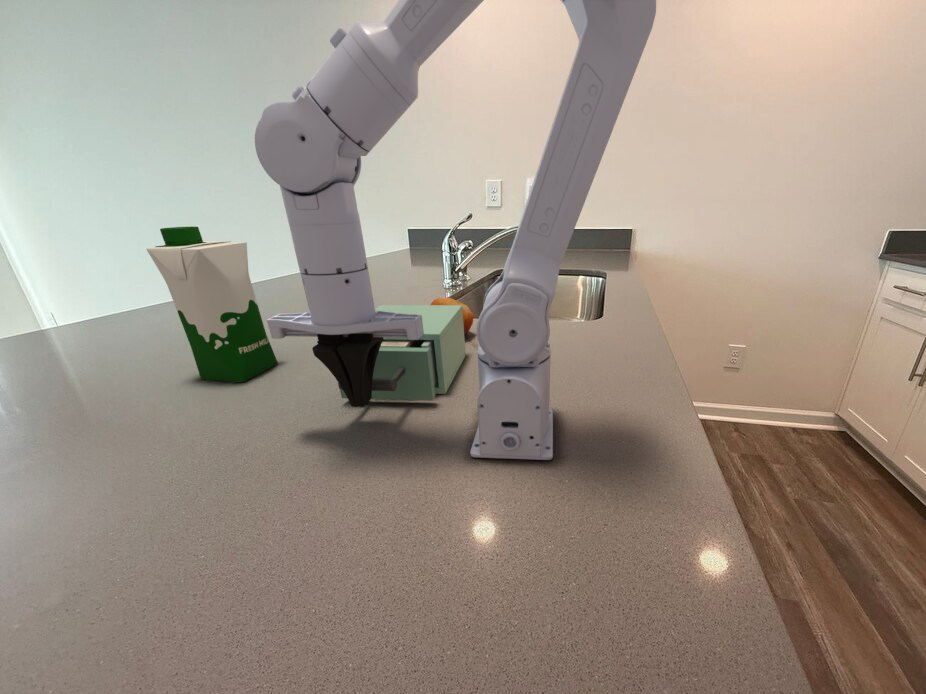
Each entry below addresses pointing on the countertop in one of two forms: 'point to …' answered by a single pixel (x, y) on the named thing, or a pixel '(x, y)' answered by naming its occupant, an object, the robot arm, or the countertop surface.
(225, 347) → the milk carton
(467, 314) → the fruit
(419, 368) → the drawer
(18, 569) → the countertop surface
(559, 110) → the robot arm
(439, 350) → the green cabinet
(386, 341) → the plastic tub
